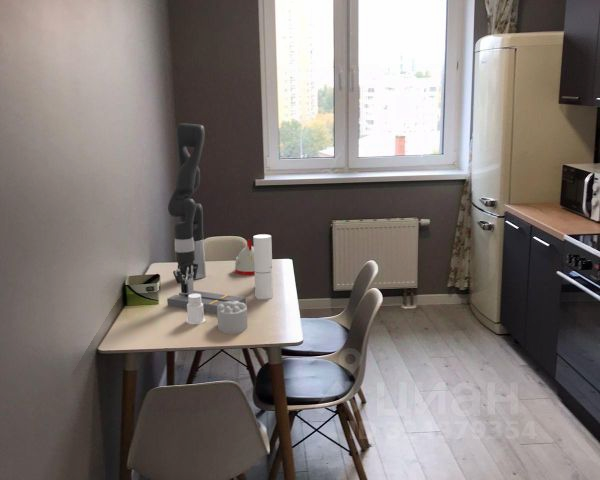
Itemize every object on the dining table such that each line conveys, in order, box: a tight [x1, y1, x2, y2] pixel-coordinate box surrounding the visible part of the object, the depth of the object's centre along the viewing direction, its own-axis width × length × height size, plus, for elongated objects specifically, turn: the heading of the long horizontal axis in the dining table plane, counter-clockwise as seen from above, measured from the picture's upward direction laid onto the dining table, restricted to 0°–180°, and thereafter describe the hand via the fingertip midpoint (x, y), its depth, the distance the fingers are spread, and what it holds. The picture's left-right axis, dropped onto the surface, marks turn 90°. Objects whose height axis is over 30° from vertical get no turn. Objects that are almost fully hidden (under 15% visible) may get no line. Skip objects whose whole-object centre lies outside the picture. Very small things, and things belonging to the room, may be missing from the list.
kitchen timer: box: [234, 238, 255, 276], centre depth 315 cm, size 14×14×15 cm
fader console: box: [166, 290, 247, 314], centre depth 267 cm, size 28×13×3 cm, turn 63°
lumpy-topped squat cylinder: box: [216, 301, 248, 335], centre depth 241 cm, size 10×13×9 cm
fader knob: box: [179, 277, 195, 296], centre depth 270 cm, size 4×3×9 cm
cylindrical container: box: [252, 233, 274, 300], centre depth 274 cm, size 7×7×25 cm
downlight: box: [185, 294, 206, 325], centre depth 248 cm, size 8×7×10 cm
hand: (187, 291), depth 270 cm, fingers closed on fader knob, 3 cm apart
